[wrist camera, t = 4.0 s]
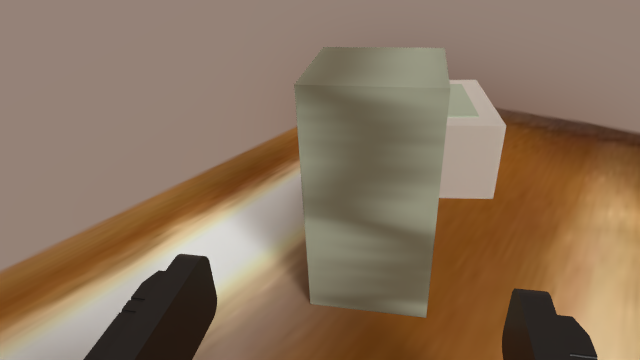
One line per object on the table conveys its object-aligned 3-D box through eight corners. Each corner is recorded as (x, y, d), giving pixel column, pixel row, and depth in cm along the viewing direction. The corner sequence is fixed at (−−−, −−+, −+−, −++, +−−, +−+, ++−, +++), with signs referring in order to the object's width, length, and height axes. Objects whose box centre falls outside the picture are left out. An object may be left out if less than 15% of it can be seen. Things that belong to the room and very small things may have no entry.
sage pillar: (425, 244, 23) (444, 48, 18) (426, 317, 19) (450, 88, 14) (330, 235, 24) (323, 47, 19) (310, 303, 20) (294, 85, 15)
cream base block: (467, 143, 34) (476, 78, 31) (492, 202, 27) (506, 123, 24) (360, 143, 34) (360, 79, 32) (357, 199, 27) (357, 123, 25)
